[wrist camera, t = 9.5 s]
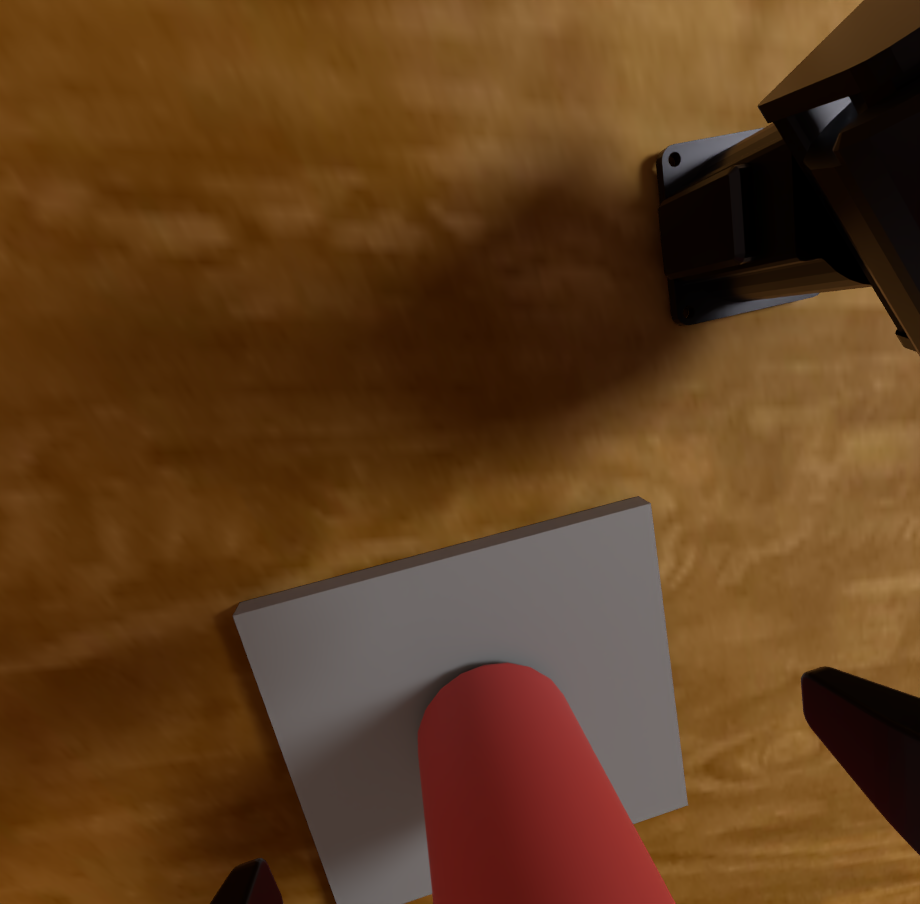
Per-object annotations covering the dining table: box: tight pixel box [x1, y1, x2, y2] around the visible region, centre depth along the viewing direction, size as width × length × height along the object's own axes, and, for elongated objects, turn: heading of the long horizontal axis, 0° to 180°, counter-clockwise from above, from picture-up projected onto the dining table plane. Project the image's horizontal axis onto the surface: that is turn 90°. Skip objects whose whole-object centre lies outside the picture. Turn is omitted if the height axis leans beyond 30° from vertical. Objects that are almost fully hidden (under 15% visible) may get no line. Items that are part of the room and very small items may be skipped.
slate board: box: [233, 496, 688, 904], centre depth 22 cm, size 17×16×1 cm
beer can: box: [418, 662, 676, 904], centre depth 16 cm, size 7×7×12 cm
